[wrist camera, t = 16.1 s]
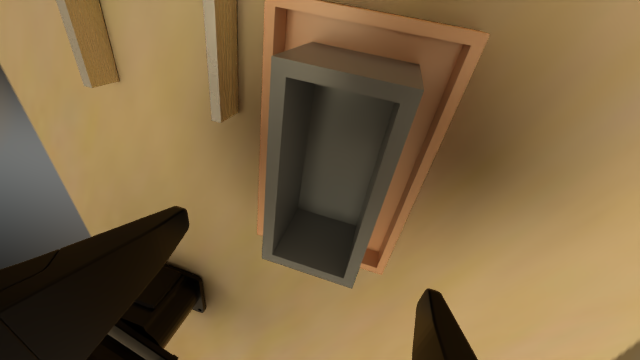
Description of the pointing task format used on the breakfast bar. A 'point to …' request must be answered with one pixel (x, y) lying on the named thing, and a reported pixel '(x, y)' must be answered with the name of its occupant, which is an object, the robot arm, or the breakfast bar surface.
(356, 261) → the box
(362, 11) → the tray
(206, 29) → the bay
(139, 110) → the breakfast bar surface
